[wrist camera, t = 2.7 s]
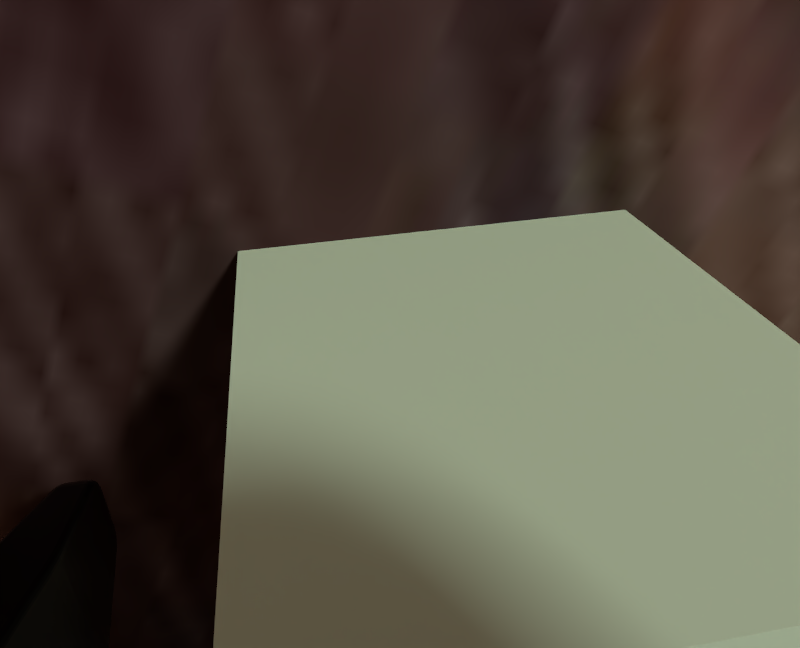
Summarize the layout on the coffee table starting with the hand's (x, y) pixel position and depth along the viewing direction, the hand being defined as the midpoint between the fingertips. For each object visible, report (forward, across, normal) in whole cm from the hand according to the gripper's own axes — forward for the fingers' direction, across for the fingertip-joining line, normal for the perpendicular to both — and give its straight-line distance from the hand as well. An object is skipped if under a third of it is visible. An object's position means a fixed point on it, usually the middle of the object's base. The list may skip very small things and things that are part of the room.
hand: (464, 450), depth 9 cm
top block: (+1, 0, 0) cm, 1 cm away
